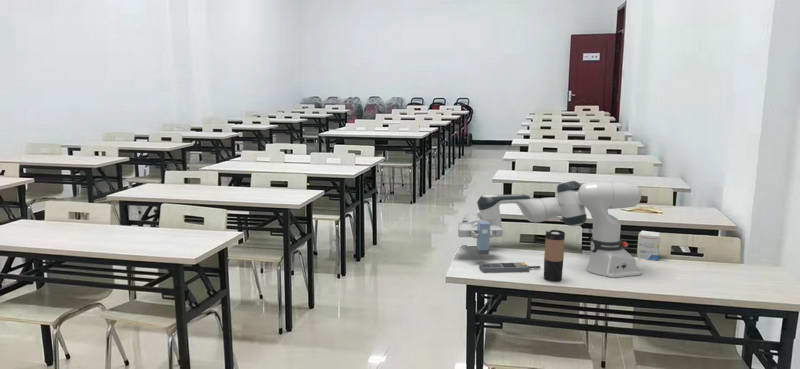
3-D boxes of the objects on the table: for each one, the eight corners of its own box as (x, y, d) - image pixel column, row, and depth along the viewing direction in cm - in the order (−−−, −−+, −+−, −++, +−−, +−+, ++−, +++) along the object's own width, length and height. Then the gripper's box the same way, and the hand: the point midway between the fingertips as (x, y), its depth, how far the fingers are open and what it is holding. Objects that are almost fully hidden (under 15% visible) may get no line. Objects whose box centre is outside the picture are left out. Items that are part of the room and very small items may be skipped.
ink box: (658, 256, 278) (660, 232, 275) (657, 261, 270) (660, 236, 268) (638, 253, 281) (640, 230, 279) (637, 258, 274) (639, 234, 271)
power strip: (537, 266, 260) (537, 261, 259) (542, 271, 253) (542, 266, 252) (479, 267, 257) (479, 262, 256) (483, 272, 250) (483, 267, 250)
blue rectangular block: (486, 251, 264) (487, 221, 262) (489, 254, 260) (490, 223, 257) (476, 251, 264) (477, 221, 261) (478, 254, 259) (479, 223, 257)
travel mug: (562, 282, 239) (565, 235, 236) (543, 281, 241) (546, 233, 237) (561, 276, 246) (564, 230, 243) (542, 275, 248) (545, 229, 244)
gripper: (498, 234, 275) (506, 242, 261) (455, 235, 273) (461, 243, 259) (499, 221, 274) (507, 228, 260) (455, 221, 272) (461, 229, 258)
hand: (483, 236), depth 260 cm, fingers closed on blue rectangular block, 5 cm apart
